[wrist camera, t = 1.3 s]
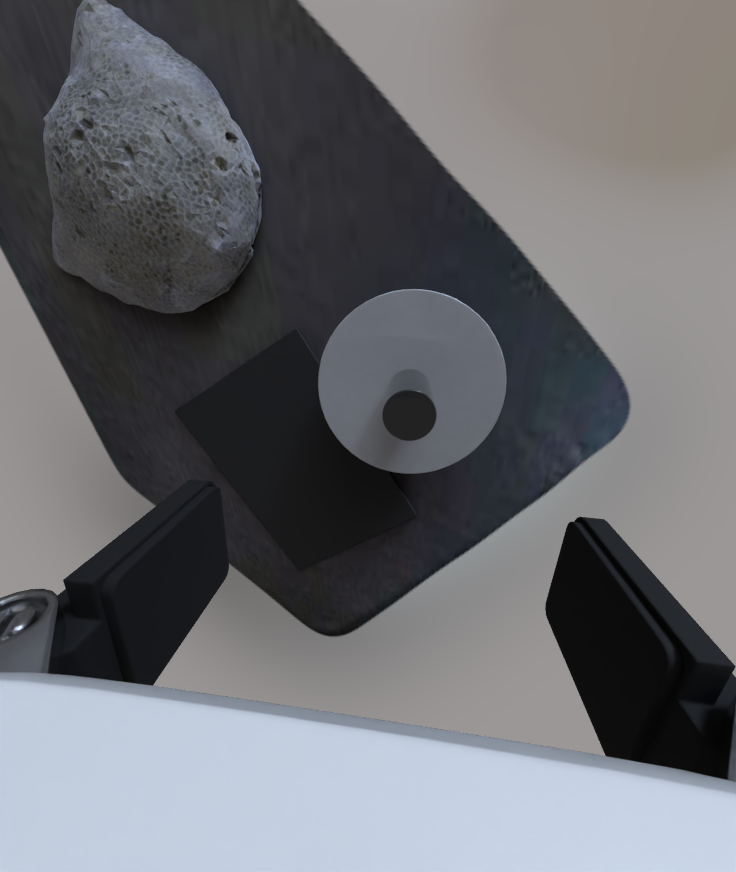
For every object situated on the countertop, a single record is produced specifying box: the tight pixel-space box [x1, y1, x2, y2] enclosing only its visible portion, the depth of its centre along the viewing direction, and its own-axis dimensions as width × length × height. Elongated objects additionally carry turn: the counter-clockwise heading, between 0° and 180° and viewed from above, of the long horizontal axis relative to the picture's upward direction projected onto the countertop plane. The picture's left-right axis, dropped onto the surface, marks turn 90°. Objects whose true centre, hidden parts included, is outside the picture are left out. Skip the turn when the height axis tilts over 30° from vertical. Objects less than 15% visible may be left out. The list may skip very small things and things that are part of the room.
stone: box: [43, 0, 262, 313], centre depth 26 cm, size 18×8×15 cm
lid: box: [318, 289, 506, 474], centre depth 21 cm, size 12×12×7 cm
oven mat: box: [175, 328, 417, 570], centre depth 34 cm, size 20×14×1 cm
